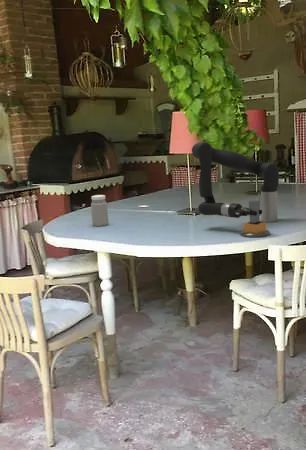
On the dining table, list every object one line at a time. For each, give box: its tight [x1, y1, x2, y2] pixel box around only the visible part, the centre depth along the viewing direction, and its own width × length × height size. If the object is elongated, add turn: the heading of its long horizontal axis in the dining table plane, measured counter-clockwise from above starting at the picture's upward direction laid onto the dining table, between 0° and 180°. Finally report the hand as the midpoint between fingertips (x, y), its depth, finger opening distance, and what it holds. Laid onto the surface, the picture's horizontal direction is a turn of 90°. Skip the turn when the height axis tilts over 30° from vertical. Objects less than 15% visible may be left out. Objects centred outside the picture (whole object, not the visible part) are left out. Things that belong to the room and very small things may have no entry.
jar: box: [90, 194, 109, 227], centre depth 323 cm, size 10×10×18 cm
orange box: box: [240, 220, 271, 239], centre depth 274 cm, size 15×15×6 cm
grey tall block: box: [248, 199, 261, 224], centre depth 272 cm, size 4×4×15 cm
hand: (259, 212), depth 270 cm, fingers closed on grey tall block, 4 cm apart
